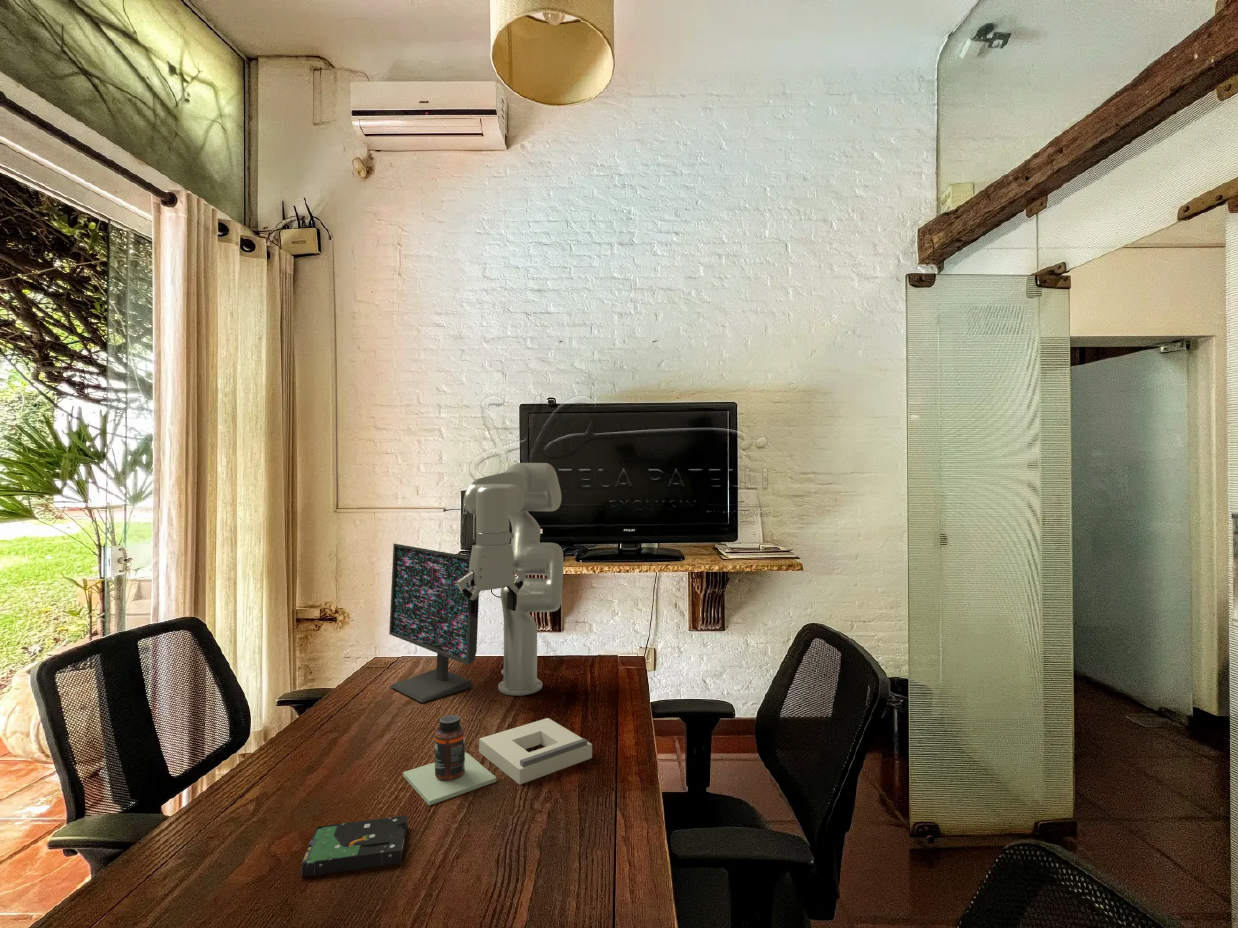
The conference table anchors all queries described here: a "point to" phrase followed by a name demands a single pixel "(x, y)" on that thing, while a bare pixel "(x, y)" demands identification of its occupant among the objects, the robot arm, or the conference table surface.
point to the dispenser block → (528, 766)
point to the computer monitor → (432, 617)
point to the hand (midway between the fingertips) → (492, 612)
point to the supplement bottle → (449, 748)
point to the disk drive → (355, 846)
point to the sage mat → (448, 781)
